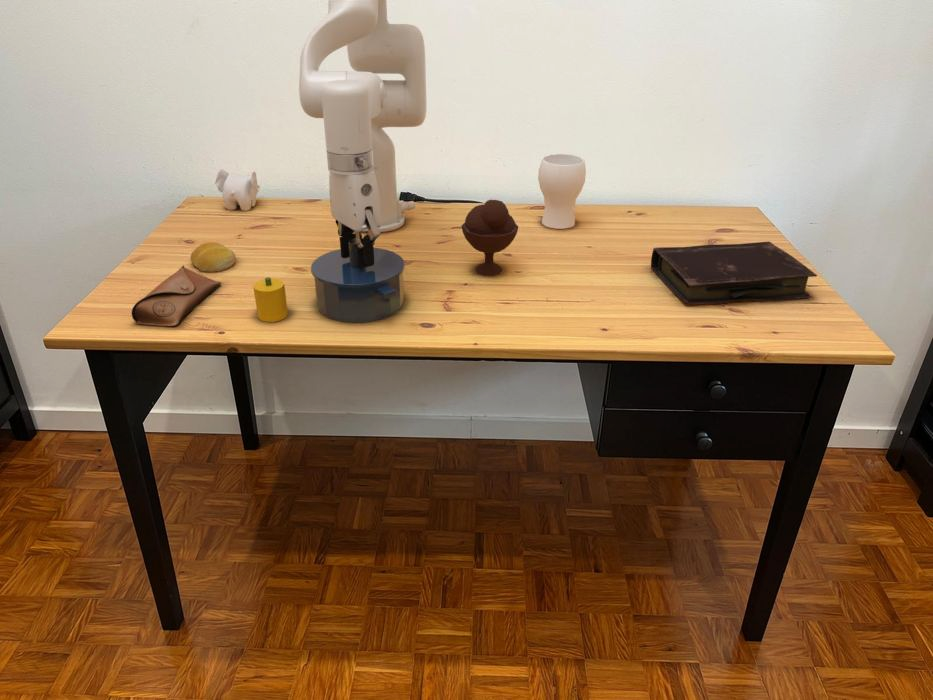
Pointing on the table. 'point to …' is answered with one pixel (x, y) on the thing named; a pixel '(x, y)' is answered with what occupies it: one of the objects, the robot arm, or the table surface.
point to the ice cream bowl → (489, 233)
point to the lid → (349, 275)
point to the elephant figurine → (237, 189)
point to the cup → (560, 188)
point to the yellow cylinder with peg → (270, 300)
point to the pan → (360, 301)
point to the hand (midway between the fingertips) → (357, 260)
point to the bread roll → (212, 257)
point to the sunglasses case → (173, 298)
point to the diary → (731, 273)
